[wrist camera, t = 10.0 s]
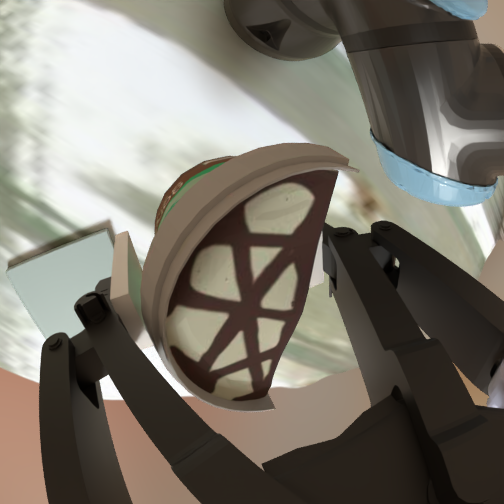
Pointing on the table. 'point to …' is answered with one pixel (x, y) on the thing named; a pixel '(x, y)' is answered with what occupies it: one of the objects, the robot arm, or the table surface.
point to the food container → (236, 268)
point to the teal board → (62, 281)
